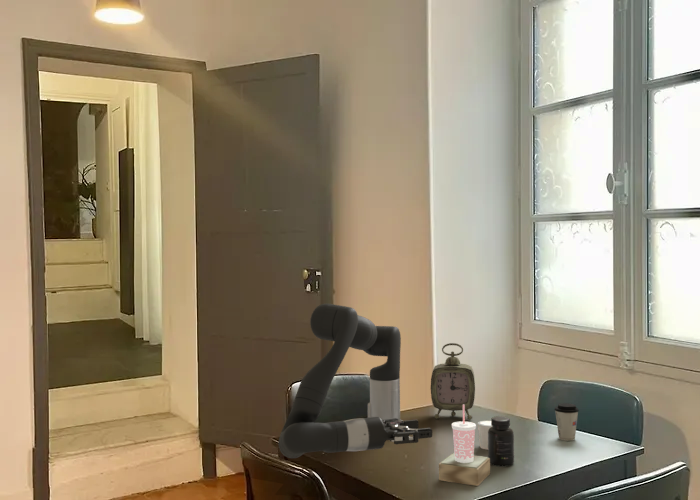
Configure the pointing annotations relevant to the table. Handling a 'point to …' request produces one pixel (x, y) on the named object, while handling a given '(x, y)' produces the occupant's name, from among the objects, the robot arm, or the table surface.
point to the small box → (464, 470)
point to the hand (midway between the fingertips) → (424, 428)
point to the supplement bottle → (501, 442)
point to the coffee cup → (566, 421)
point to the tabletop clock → (452, 385)
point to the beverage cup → (464, 440)
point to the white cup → (484, 433)
